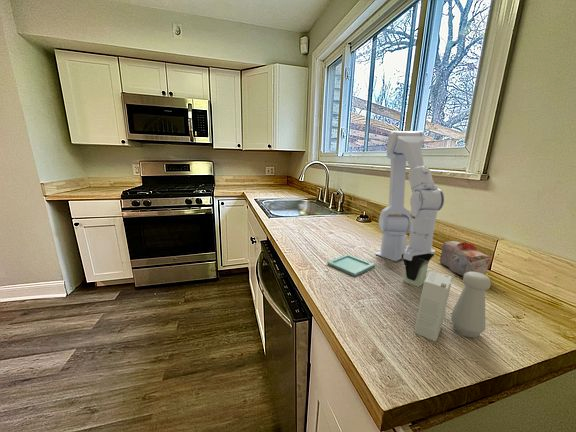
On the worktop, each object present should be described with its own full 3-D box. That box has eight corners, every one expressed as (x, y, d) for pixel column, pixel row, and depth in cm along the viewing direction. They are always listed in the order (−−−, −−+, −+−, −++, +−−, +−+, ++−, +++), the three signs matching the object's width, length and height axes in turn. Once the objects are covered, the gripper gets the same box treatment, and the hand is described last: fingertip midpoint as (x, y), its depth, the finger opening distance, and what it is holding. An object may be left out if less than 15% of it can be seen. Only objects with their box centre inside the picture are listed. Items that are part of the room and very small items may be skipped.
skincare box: (419, 318, 53) (427, 269, 51) (442, 327, 51) (453, 276, 48) (412, 333, 49) (421, 280, 46) (438, 344, 46) (449, 288, 43)
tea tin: (409, 276, 73) (412, 256, 71) (425, 282, 69) (429, 261, 68) (402, 280, 70) (405, 259, 68) (418, 287, 67) (422, 265, 65)
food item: (491, 282, 70) (498, 251, 68) (465, 282, 70) (472, 251, 67) (456, 262, 83) (461, 235, 81) (434, 262, 83) (439, 236, 81)
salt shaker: (489, 343, 46) (504, 283, 43) (456, 338, 47) (469, 280, 44) (473, 323, 52) (485, 269, 49) (444, 320, 53) (454, 266, 50)
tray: (347, 256, 87) (347, 253, 87) (374, 266, 79) (374, 264, 78) (327, 264, 80) (327, 261, 80) (354, 276, 72) (355, 273, 72)
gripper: (426, 241, 59) (418, 290, 62) (447, 231, 68) (439, 274, 71) (398, 234, 64) (392, 279, 67) (420, 225, 73) (414, 266, 76)
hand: (414, 276), depth 69 cm, fingers closed on tea tin, 4 cm apart
